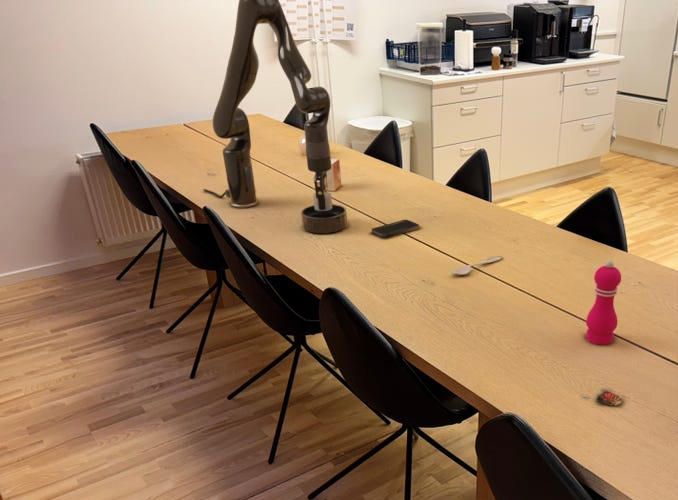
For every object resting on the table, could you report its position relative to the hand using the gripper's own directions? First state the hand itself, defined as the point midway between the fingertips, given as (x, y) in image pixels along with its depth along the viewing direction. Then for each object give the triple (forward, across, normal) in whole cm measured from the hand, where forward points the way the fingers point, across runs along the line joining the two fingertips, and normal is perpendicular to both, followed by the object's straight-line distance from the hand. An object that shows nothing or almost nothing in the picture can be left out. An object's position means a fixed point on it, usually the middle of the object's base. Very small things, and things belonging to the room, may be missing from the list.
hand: (323, 205), depth 225 cm
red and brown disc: (+8, +107, +69) cm, 127 cm away
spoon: (+8, +37, +48) cm, 61 cm away
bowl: (+7, 0, 0) cm, 7 cm away
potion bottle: (+7, -94, -15) cm, 95 cm away
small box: (+7, -44, -2) cm, 45 cm away
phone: (+7, +5, +24) cm, 25 cm away
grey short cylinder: (+1, 0, 0) cm, 1 cm away
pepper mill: (+8, +81, +73) cm, 109 cm away
